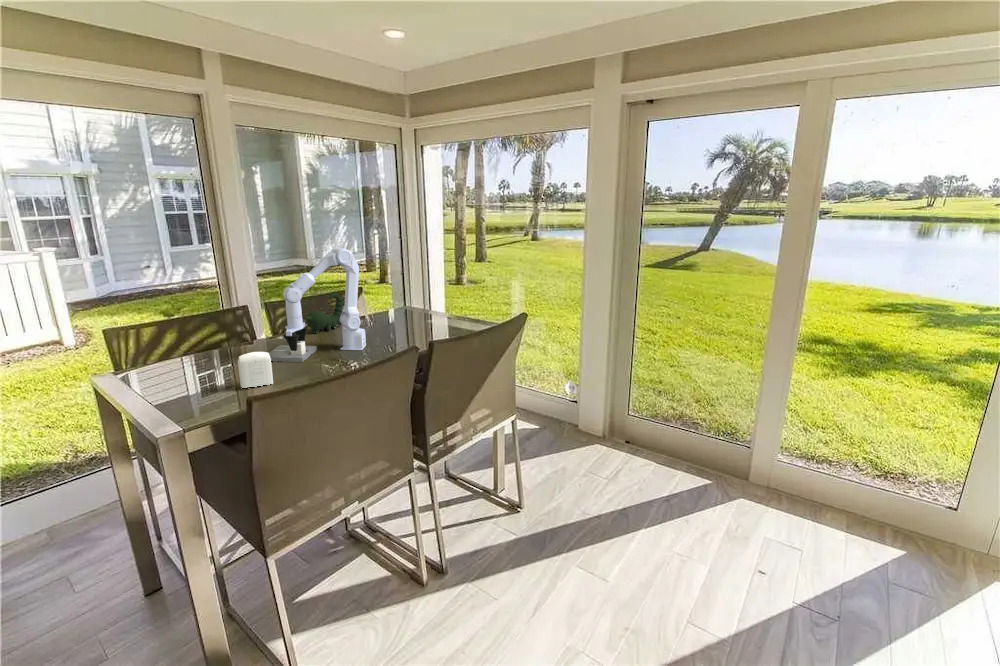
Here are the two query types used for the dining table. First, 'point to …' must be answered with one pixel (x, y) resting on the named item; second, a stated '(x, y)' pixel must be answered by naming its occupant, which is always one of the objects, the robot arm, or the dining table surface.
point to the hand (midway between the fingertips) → (297, 347)
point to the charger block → (299, 348)
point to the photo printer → (255, 369)
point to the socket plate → (285, 355)
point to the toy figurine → (325, 316)
